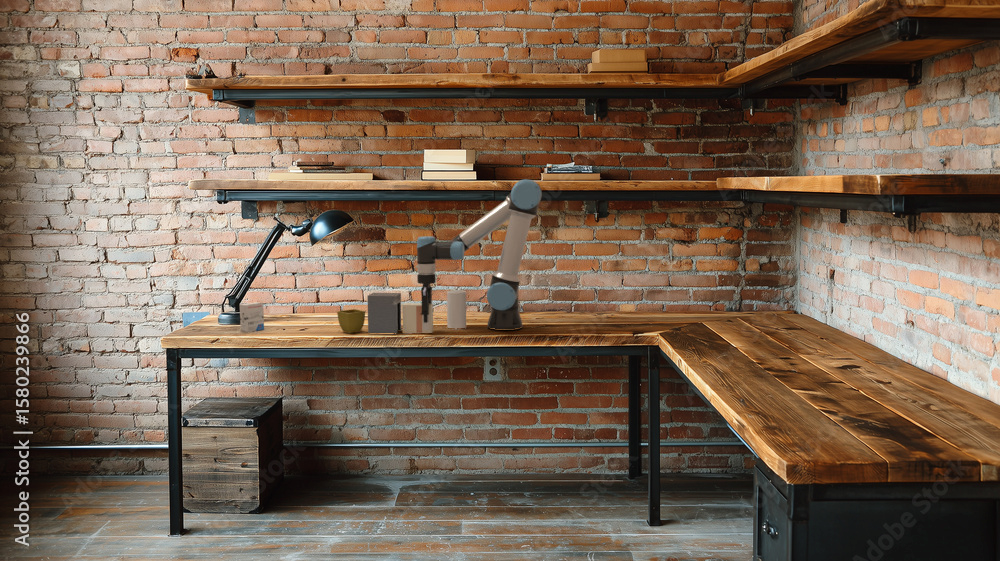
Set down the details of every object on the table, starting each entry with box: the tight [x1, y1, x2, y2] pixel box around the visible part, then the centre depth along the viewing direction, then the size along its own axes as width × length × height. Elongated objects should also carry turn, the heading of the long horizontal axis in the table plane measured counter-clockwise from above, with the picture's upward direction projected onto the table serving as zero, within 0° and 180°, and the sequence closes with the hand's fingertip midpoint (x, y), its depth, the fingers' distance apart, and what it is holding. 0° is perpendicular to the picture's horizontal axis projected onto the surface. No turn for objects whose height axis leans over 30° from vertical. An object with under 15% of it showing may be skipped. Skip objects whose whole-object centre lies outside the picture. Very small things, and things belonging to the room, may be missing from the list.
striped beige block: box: [401, 302, 434, 334], centre depth 308 cm, size 12×5×12 cm, turn 87°
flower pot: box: [336, 308, 366, 334], centre depth 309 cm, size 9×9×9 cm
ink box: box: [239, 301, 265, 333], centre depth 312 cm, size 9×5×12 cm, turn 141°
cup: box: [446, 289, 467, 330], centre depth 319 cm, size 8×8×16 cm
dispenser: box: [367, 292, 402, 335], centre depth 309 cm, size 12×10×16 cm
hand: (427, 328), depth 309 cm, fingers closed on striped beige block, 5 cm apart
